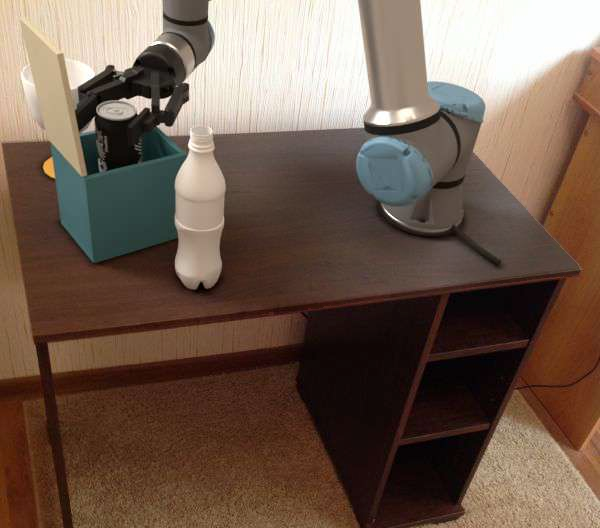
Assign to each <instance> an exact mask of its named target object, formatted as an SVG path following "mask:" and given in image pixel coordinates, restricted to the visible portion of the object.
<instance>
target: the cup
mask: <svg viewBox="0 0 600 528" xmlns="http://www.w3.org/2000/svg"><path fill="white" fill-rule="evenodd" d="M64 59H65V65H66V70H67V75H68V80H69V85H70V90H71V95H72V100H73V105H74V110H76V109H77V104H78V103H79V98H78V88H77V87H79V86H80V85H82V84H83V83H85V82H87V81H88V80H90V79H91V78H93V77H95V76H96V73H95V70H94V69H93V67H91V66H89V65H88V64H86V63H85V62H82V61H78V60H75V59H70V58H64ZM20 78H21V83H22V88H23V91H24V95H25V99H26V103H27V106H28V109H29V111H30V113H31V115H32V117H33V120H34V121H35V123H36V124H37V125H38V126H39V127H40V129H42V130H43V131H45V128H44V123H43V119H42V115H41V110H40V106H39V102H38V98H37V93H36V89H35V85H34V80H33V76H32V72H31V68H30V63H28V64H27V65H25V66H24V67H23V69H22V70H21V73H20ZM92 122H93V119H92V120H91V121H90V122H89V123H88V124H87V125H86V126H85V127H84V128H83V129H82V130H81V131H80V132H79V134H81V133H84V132H85V131H86V130H87V129H88V128H89V126H90V125H91V123H92ZM42 168H43V171H44V174H45V175H47V176H48V177H50V178H51V179H54V180H55V173H54V166H53V159H52V156H51V157H49V158H48V159H47V160H45V161H44V163H43V165H42Z"/></svg>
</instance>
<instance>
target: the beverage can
mask: <svg viewBox="0 0 600 528" xmlns="http://www.w3.org/2000/svg"><path fill="white" fill-rule="evenodd" d="M96 110H97V113H96V115H95V117H94V118H93V121H94V131H95V132H96V142H97V153H98V164H99V173H101V172H105V171H109V170H113V169H117V168H121V167H125V166H130V165H134V164H138V163H142V147H141V137H140V138H139V139H138V141H137V142H136V143H135V144H134V145H133V146H131V145H128V139H127V126H128V125H129V124H130V123H131V122H132V121H133V120H134V119H135V118H136V117H137V116H138V114H139V113H138V109H137V107H136V106H135V105H134V104H133V103H131V102H128V101H126V100H112V101H106V102H103V103H101V104H99V105H98V106H97V109H96Z"/></svg>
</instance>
